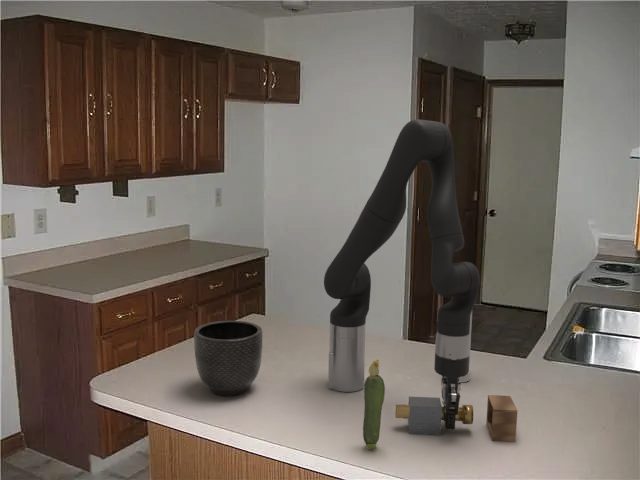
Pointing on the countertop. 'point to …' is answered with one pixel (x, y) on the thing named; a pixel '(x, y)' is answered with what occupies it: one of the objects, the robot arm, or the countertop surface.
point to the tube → (463, 413)
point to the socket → (501, 418)
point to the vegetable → (373, 405)
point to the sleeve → (425, 415)
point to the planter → (228, 355)
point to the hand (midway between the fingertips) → (448, 424)
